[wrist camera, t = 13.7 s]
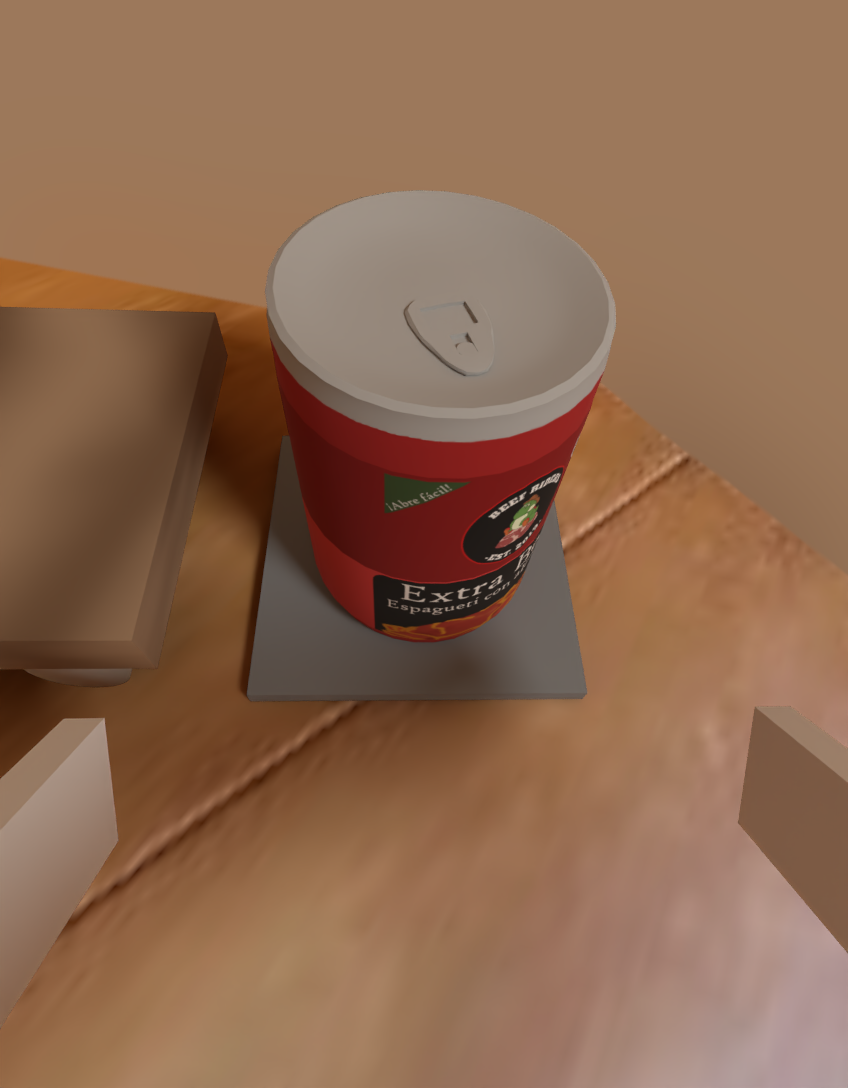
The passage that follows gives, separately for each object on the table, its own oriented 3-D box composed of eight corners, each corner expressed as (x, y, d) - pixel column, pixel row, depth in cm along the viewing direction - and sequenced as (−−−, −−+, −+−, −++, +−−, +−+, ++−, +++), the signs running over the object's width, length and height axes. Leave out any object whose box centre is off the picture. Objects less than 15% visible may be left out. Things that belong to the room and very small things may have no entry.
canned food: (389, 694, 19) (392, 481, 10) (276, 520, 23) (197, 239, 13) (567, 581, 22) (700, 328, 13) (441, 440, 25) (473, 158, 16)
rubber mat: (250, 701, 20) (246, 695, 19) (284, 445, 25) (282, 435, 25) (582, 698, 20) (587, 693, 20) (540, 449, 26) (543, 439, 25)
